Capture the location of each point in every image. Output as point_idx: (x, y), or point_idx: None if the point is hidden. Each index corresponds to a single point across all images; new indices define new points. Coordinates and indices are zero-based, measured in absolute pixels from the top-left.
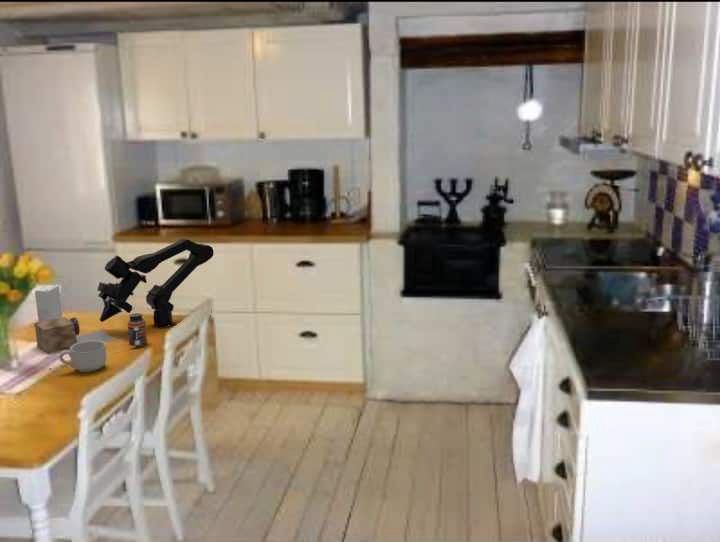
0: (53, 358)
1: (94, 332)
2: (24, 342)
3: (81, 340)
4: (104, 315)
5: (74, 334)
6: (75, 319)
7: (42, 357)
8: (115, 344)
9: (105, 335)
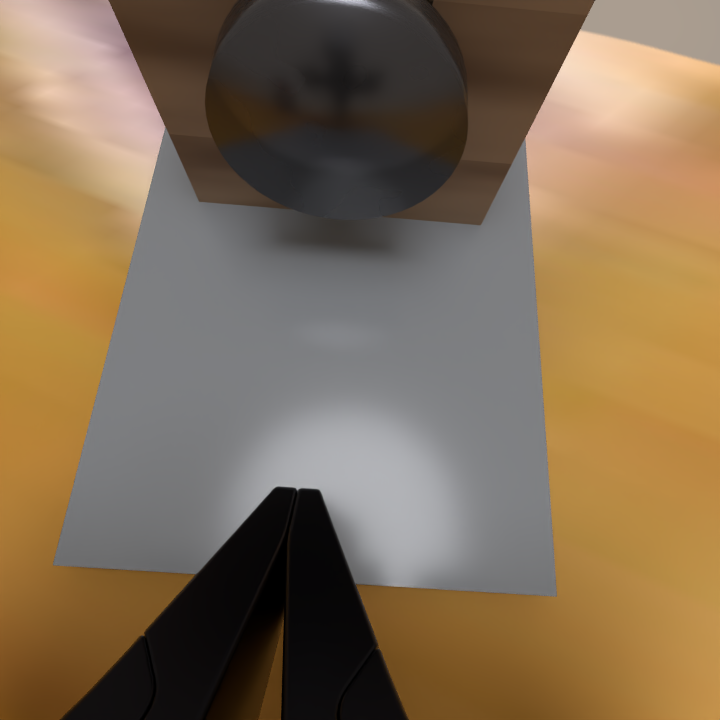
0: None
1: (545, 509)
2: (705, 66)
3: (357, 298)
4: (202, 586)
5: (154, 86)
6: (266, 1)
7: None
8: (18, 517)
9: None
